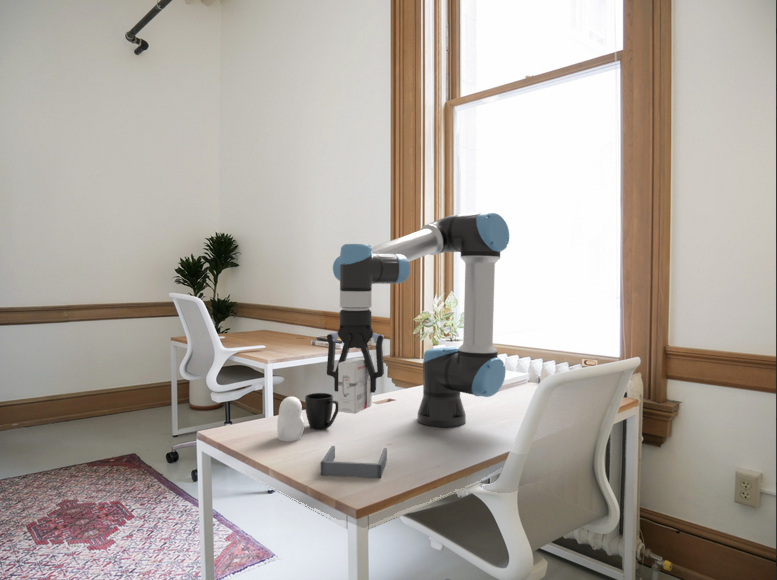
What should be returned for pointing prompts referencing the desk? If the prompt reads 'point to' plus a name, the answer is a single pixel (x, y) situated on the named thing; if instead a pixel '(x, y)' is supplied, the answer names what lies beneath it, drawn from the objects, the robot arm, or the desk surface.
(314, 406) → the mug
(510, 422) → the desk surface
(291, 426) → the figurine
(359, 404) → the ink box
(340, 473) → the grey u-shaped frame
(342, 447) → the desk surface
